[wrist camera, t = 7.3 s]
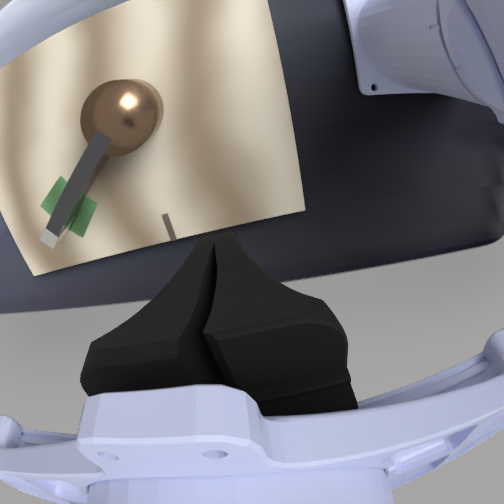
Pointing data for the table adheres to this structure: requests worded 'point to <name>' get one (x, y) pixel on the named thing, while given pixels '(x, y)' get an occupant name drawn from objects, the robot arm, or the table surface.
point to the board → (162, 141)
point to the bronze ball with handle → (106, 141)
